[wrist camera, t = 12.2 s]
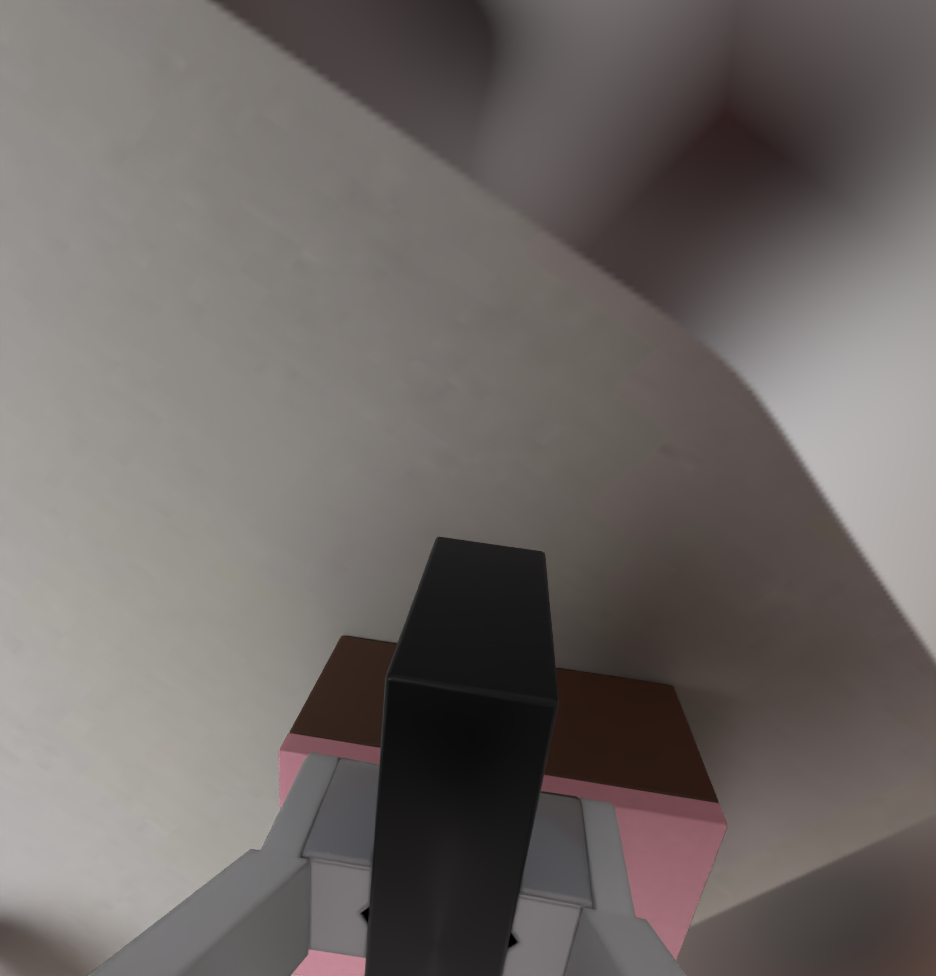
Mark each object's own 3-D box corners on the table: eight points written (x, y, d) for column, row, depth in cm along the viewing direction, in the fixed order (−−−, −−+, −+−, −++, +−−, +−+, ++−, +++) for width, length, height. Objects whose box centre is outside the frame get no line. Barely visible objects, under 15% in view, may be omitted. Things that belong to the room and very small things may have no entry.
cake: (509, 660, 20) (505, 788, 15) (673, 685, 19) (728, 825, 14) (479, 850, 23) (466, 1007, 18) (618, 873, 23) (645, 1042, 18)
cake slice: (341, 634, 20) (277, 751, 15) (445, 650, 20) (418, 774, 15) (335, 825, 23) (282, 972, 18) (424, 840, 23) (396, 994, 18)
